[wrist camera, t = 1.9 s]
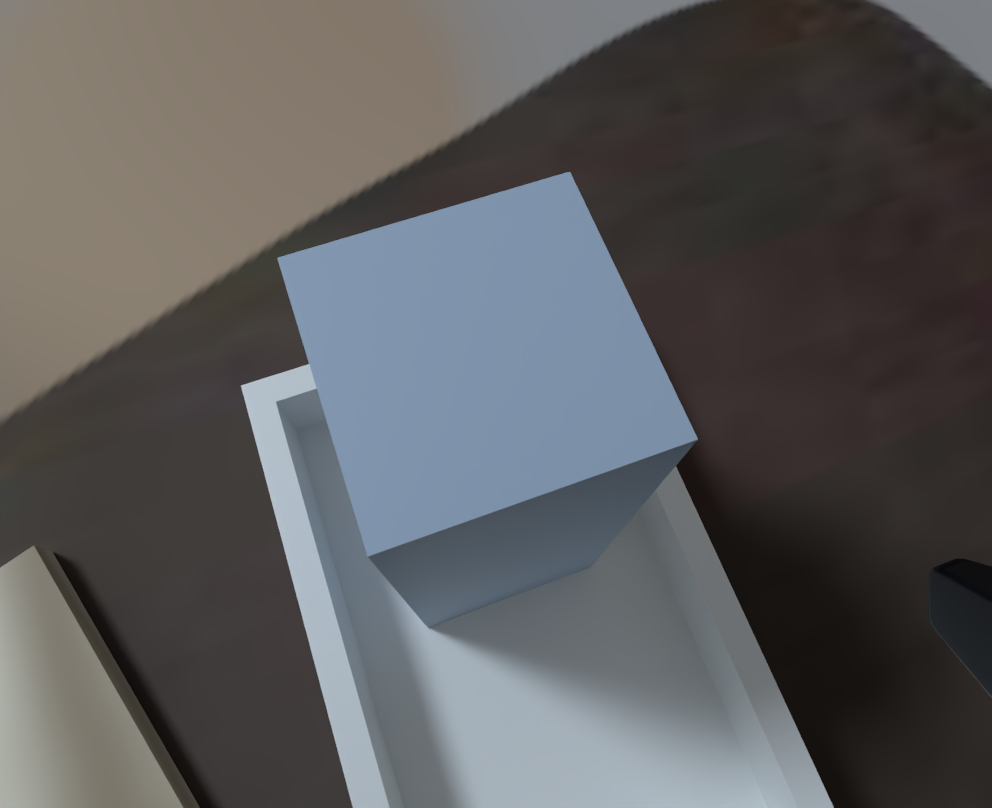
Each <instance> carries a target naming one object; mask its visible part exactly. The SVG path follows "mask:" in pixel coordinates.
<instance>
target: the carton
mask: <svg viewBox="0 0 992 808" xmlns="http://www.w3.org/2000/svg"><path fill="white" fill-rule="evenodd" d="M277 259H278V262H279V265H280V269H281V272H282V275H283V279H284V282H285V285H286V289H287V292H288V295H289V298H290V302H291V305H292V308H293V312H294V315H295V318H296V322H297V325H298V328H299V332H300V335H301V338H302V341H303V345H304V348H305V351H306V355H307V358H308V361H309V365H310V368H311V371H312V375H313V378H314V381H315V385H316V388H317V391H318V394H319V398H320V401H321V404H322V408H323V411H324V414H325V418H326V421H327V424H328V428H329V431H330V434H331V437H332V441H333V444H334V447H335V451H336V454H337V457H338V461H339V464H340V467H341V471H342V474H343V477H344V480H345V484H346V487H347V490H348V494H349V497H350V500H351V504H352V507H353V510H354V514H355V517H356V520H357V523H358V527H359V530H360V533H361V537H362V540H363V543H364V547H365V550H366V553H367V557H368V558H369V559H370V560H371V561H372V562H373V564H374V565H375V566H376V567H377V568H378V570H379V571H380V572H381V573H382V574H383V575H384V577H385V578H386V579H387V580H388V581H389V583H390V584H391V585H392V586H393V587H394V588H395V590H396V591H397V592H398V593H399V594H400V596H401V597H402V598H403V599H404V600H405V601H406V603H407V604H408V605H409V606H410V607H411V609H412V610H413V611H414V612H415V613H416V614H417V616H418V617H419V618H420V619H421V620H422V622H423V623H424V624H425V625H426V626H427V627H428V628H429V627H431V626H434V625H437V624H439V623H442V622H445V621H448V620H450V619H453V618H456V617H458V616H461V615H464V614H466V613H469V612H472V611H474V610H477V609H480V608H482V607H485V606H488V605H491V604H493V603H496V602H499V601H501V600H504V599H507V598H509V597H512V596H515V595H517V594H520V593H523V592H526V591H528V590H531V589H534V588H536V587H539V586H542V585H544V584H547V583H550V582H552V581H555V580H558V579H560V578H563V577H566V576H569V575H571V574H574V573H577V572H579V571H582V570H585V569H587V568H590V567H591V566H592V565H593V564H594V562H595V561H596V560H597V559H598V558H599V557H600V555H601V554H602V553H603V552H604V551H605V549H606V548H607V547H608V546H609V545H610V543H611V542H612V541H613V540H614V539H615V538H616V536H617V535H618V534H619V533H620V532H621V530H622V529H623V528H624V527H625V526H626V524H627V523H628V522H629V521H630V520H631V519H632V517H633V516H634V515H635V514H636V513H637V511H638V510H639V509H640V508H641V507H642V505H643V504H644V503H645V502H646V501H647V499H648V498H649V497H650V496H651V495H652V494H653V492H654V491H655V490H656V489H657V488H658V486H659V485H660V484H661V483H662V482H663V480H664V479H665V478H666V477H667V476H668V475H669V473H670V472H671V471H672V470H673V469H674V467H675V466H676V465H677V464H678V463H679V461H680V460H681V459H682V458H683V457H684V456H685V454H686V453H687V452H688V451H689V450H690V448H691V447H692V446H693V445H694V444H695V442H696V441H697V440H698V438H697V436H696V434H695V432H694V430H693V428H692V426H691V424H690V422H689V419H688V417H687V415H686V413H685V411H684V409H683V407H682V405H681V403H680V401H679V399H678V397H677V394H676V392H675V390H674V388H673V386H672V384H671V382H670V380H669V378H668V376H667V374H666V371H665V369H664V367H663V365H662V363H661V361H660V359H659V357H658V355H657V353H656V351H655V349H654V346H653V344H652V342H651V340H650V338H649V336H648V334H647V332H646V330H645V328H644V326H643V323H642V321H641V319H640V317H639V315H638V313H637V311H636V309H635V307H634V305H633V303H632V301H631V298H630V296H629V294H628V292H627V290H626V288H625V286H624V284H623V282H622V280H621V278H620V275H619V273H618V271H617V269H616V267H615V265H614V263H613V261H612V259H611V257H610V255H609V253H608V250H607V248H606V246H605V244H604V242H603V240H602V238H601V236H600V234H599V232H598V230H597V227H596V225H595V223H594V221H593V219H592V217H591V215H590V213H589V211H588V209H587V207H586V204H585V202H584V200H583V198H582V196H581V194H580V192H579V190H578V188H577V186H576V184H575V182H574V179H573V177H572V175H571V173H570V172H567V173H564V174H560V175H557V176H553V177H550V178H547V179H543V180H540V181H536V182H533V183H530V184H526V185H523V186H519V187H516V188H513V189H509V190H506V191H503V192H499V193H496V194H492V195H489V196H486V197H482V198H479V199H475V200H472V201H469V202H465V203H462V204H458V205H455V206H452V207H448V208H445V209H441V210H438V211H435V212H431V213H428V214H425V215H421V216H418V217H414V218H411V219H408V220H404V221H401V222H397V223H394V224H391V225H387V226H384V227H380V228H377V229H374V230H370V231H367V232H363V233H360V234H357V235H353V236H350V237H347V238H343V239H340V240H336V241H333V242H330V243H326V244H323V245H319V246H316V247H313V248H309V249H306V250H302V251H299V252H296V253H292V254H289V255H285V256H282V257H279V258H277Z"/></svg>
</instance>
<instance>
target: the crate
mask: <svg viewBox="0 0 992 808" xmlns="http://www.w3.org/2000/svg"><path fill="white" fill-rule="evenodd" d="M241 387H242V391H243V395H244V399H245V402H246V406H247V410H248V414H249V418H250V421H251V425H252V429H253V433H254V436H255V440H256V444H257V448H258V451H259V455H260V459H261V463H262V467H263V470H264V474H265V478H266V482H267V485H268V489H269V493H270V497H271V501H272V504H273V508H274V512H275V516H276V519H277V523H278V527H279V531H280V534H281V538H282V542H283V546H284V550H285V553H286V557H287V561H288V565H289V568H290V572H291V576H292V580H293V583H294V587H295V591H296V595H297V599H298V602H299V606H300V610H301V614H302V617H303V621H304V625H305V629H306V633H307V636H308V640H309V644H310V648H311V651H312V655H313V659H314V663H315V666H316V670H317V674H318V678H319V682H320V685H321V689H322V693H323V697H324V700H325V704H326V708H327V712H328V715H329V719H330V723H331V727H332V731H333V734H334V738H335V742H336V746H337V749H338V753H339V757H340V761H341V765H342V768H343V772H344V776H345V780H346V783H347V787H348V791H349V795H350V798H351V802H352V806H353V808H834V807H833V805H832V802H831V800H830V798H829V796H828V794H827V792H826V790H825V787H824V785H823V783H822V781H821V779H820V777H819V774H818V772H817V770H816V768H815V766H814V764H813V761H812V759H811V757H810V755H809V753H808V751H807V748H806V746H805V744H804V742H803V740H802V738H801V735H800V733H799V731H798V729H797V727H796V725H795V722H794V720H793V718H792V716H791V714H790V712H789V710H788V707H787V705H786V703H785V701H784V699H783V697H782V694H781V692H780V690H779V688H778V686H777V684H776V681H775V679H774V677H773V675H772V673H771V671H770V668H769V666H768V664H767V662H766V660H765V658H764V655H763V653H762V651H761V649H760V647H759V645H758V642H757V640H756V638H755V636H754V634H753V632H752V630H751V627H750V625H749V623H748V621H747V619H746V617H745V614H744V612H743V610H742V608H741V606H740V604H739V601H738V599H737V597H736V595H735V593H734V591H733V588H732V586H731V584H730V582H729V580H728V578H727V575H726V573H725V571H724V569H723V567H722V565H721V562H720V560H719V558H718V556H717V554H716V552H715V549H714V547H713V545H712V543H711V541H710V539H709V537H708V534H707V532H706V530H705V528H704V526H703V524H702V521H701V519H700V517H699V515H698V513H697V511H696V508H695V506H694V504H693V502H692V500H691V498H690V495H689V493H688V491H687V489H686V487H685V485H684V482H683V480H682V478H681V476H680V474H679V472H678V469H677V467H676V466H675V467H674V469H673V470H672V471H671V472H670V473H669V475H668V476H667V477H666V478H665V479H664V480H663V482H662V483H661V484H660V485H659V486H658V488H657V489H656V490H655V491H654V492H653V494H652V495H651V496H650V497H649V498H648V499H647V501H646V502H645V503H644V504H643V505H642V507H641V508H640V509H639V510H638V511H637V513H636V514H635V515H634V516H633V517H632V519H631V520H630V521H629V522H628V523H627V524H626V526H625V527H624V528H623V529H622V530H621V532H620V533H619V534H618V535H617V536H616V538H615V539H614V540H613V541H612V542H611V543H610V545H609V546H608V547H607V548H606V549H605V551H604V552H603V553H602V554H601V555H600V557H599V558H598V559H597V560H596V561H595V562H594V564H593V565H592V566H591V567H590V568H587V569H585V570H582V571H579V572H577V573H574V574H571V575H569V576H566V577H563V578H560V579H558V580H555V581H552V582H550V583H547V584H544V585H542V586H539V587H536V588H534V589H531V590H528V591H526V592H523V593H520V594H517V595H515V596H512V597H509V598H507V599H504V600H501V601H499V602H496V603H493V604H491V605H488V606H485V607H482V608H480V609H477V610H474V611H472V612H469V613H466V614H464V615H461V616H458V617H456V618H453V619H450V620H448V621H445V622H442V623H439V624H437V625H434V626H431V627H429V628H428V627H427V626H426V625H425V624H424V623H423V622H422V620H421V619H420V618H419V617H418V616H417V614H416V613H415V612H414V611H413V610H412V609H411V607H410V606H409V605H408V604H407V603H406V601H405V600H404V599H403V598H402V597H401V596H400V594H399V593H398V592H397V591H396V590H395V588H394V587H393V586H392V585H391V584H390V583H389V581H388V580H387V579H386V578H385V577H384V575H383V574H382V573H381V572H380V571H379V570H378V568H377V567H376V566H375V565H374V564H373V562H372V561H371V560H370V559H369V558H368V557H367V553H366V550H365V547H364V543H363V540H362V537H361V533H360V530H359V527H358V523H357V520H356V517H355V514H354V510H353V507H352V504H351V500H350V497H349V494H348V490H347V487H346V484H345V480H344V477H343V474H342V471H341V467H340V464H339V461H338V457H337V454H336V451H335V447H334V444H333V441H332V437H331V434H330V431H329V428H328V424H327V421H326V418H325V414H324V411H323V408H322V404H321V401H320V398H319V394H318V391H317V388H316V385H315V381H314V378H313V375H312V371H311V368H310V365H309V364H308V365H305V366H302V367H299V368H295V369H292V370H289V371H286V372H283V373H280V374H276V375H273V376H270V377H267V378H264V379H261V380H257V381H254V382H251V383H248V384H245V385H242V386H241Z"/></svg>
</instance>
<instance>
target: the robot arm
mask: <svg viewBox="0 0 992 808" xmlns="http://www.w3.org/2000/svg"><path fill="white" fill-rule="evenodd" d="M928 613H929V618H930V621H931V623H932V626H933V627H934V629H935V630H936V632H937V633H938V634H939V636H940V637H941V638H942V639H943V640H944V642H945V643H946V644H947V645H948V646H949V648H950V649H951V650H952V651H953V652H954V653H955V655H956V656H957V657H958V658H959V659H960V661H961V662H962V663H963V664H964V665H965V667H966V668H967V669H968V670H969V671H970V672H971V674H972V675H973V676H974V677H975V678H976V680H977V681H978V682H979V683H980V684H981V686H982V687H983V688H984V689H985V690H986V692H987V693H988V694H989V695H990V696H991V697H992V567H991V566H987V565H984V564H980V563H977V562H974V561H970V560H966V559H954V560H951V561H949V562H946V563H944V564H941V565H939V566H936V567H934V568H933V569H932V570H931V572H930V574H929V600H928Z"/></svg>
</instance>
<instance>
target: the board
mask: <svg viewBox="0 0 992 808" xmlns="http://www.w3.org/2000/svg"><path fill="white" fill-rule="evenodd" d="M0 808H200V807H199V805H198V803H197V802H196V800H195V798H194V796H193V795H192V793H191V791H190V790H189V788H188V786H187V784H186V783H185V781H184V779H183V777H182V776H181V774H180V772H179V770H178V769H177V767H176V765H175V764H174V762H173V760H172V758H171V757H170V755H169V753H168V751H167V750H166V748H165V746H164V744H163V743H162V741H161V739H160V737H159V736H158V734H157V732H156V731H155V729H154V727H153V725H152V724H151V722H150V720H149V718H148V717H147V715H146V713H145V711H144V710H143V708H142V706H141V705H140V703H139V701H138V699H137V698H136V696H135V694H134V692H133V691H132V689H131V687H130V685H129V684H128V682H127V680H126V679H125V677H124V675H123V673H122V672H121V670H120V668H119V666H118V665H117V663H116V661H115V659H114V658H113V656H112V654H111V652H110V651H109V649H108V647H107V646H106V644H105V642H104V640H103V639H102V637H101V635H100V633H99V632H98V630H97V628H96V626H95V625H94V623H93V621H92V620H91V618H90V616H89V614H88V613H87V611H86V609H85V607H84V606H83V604H82V602H81V600H80V599H79V597H78V595H77V593H76V592H75V590H74V588H73V587H72V585H71V583H70V581H69V580H68V578H67V576H66V574H65V573H64V571H63V569H62V567H61V566H60V564H59V562H58V561H57V559H56V557H55V555H54V554H53V552H52V551H49V550H46V549H43V548H40V547H37V546H32V547H31V548H29V549H28V550H26V551H25V552H23V553H22V554H20V555H19V556H17V557H16V558H14V559H13V560H11V561H10V562H8V563H7V564H5V565H4V566H2V567H1V568H0Z"/></svg>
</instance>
